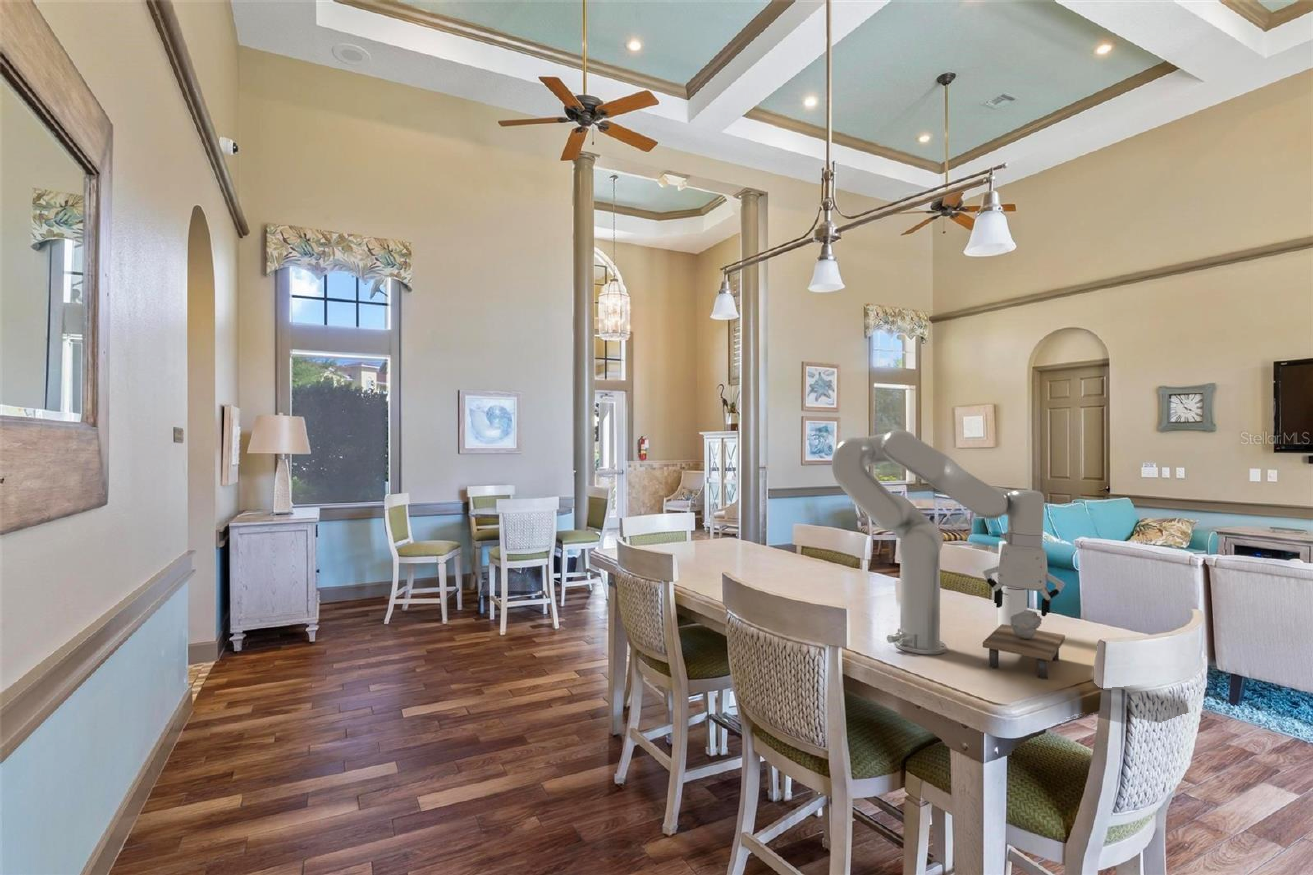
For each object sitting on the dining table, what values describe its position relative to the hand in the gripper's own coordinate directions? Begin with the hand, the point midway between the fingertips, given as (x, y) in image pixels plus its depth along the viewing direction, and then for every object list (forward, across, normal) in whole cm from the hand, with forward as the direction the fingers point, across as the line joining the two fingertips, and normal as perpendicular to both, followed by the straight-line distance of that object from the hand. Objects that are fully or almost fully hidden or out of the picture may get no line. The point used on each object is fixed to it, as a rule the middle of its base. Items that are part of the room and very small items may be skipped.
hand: (1021, 610), depth 154 cm
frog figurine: (+7, +1, 0) cm, 7 cm away
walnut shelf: (+13, +1, 0) cm, 13 cm away
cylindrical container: (+13, -7, +28) cm, 32 cm away
